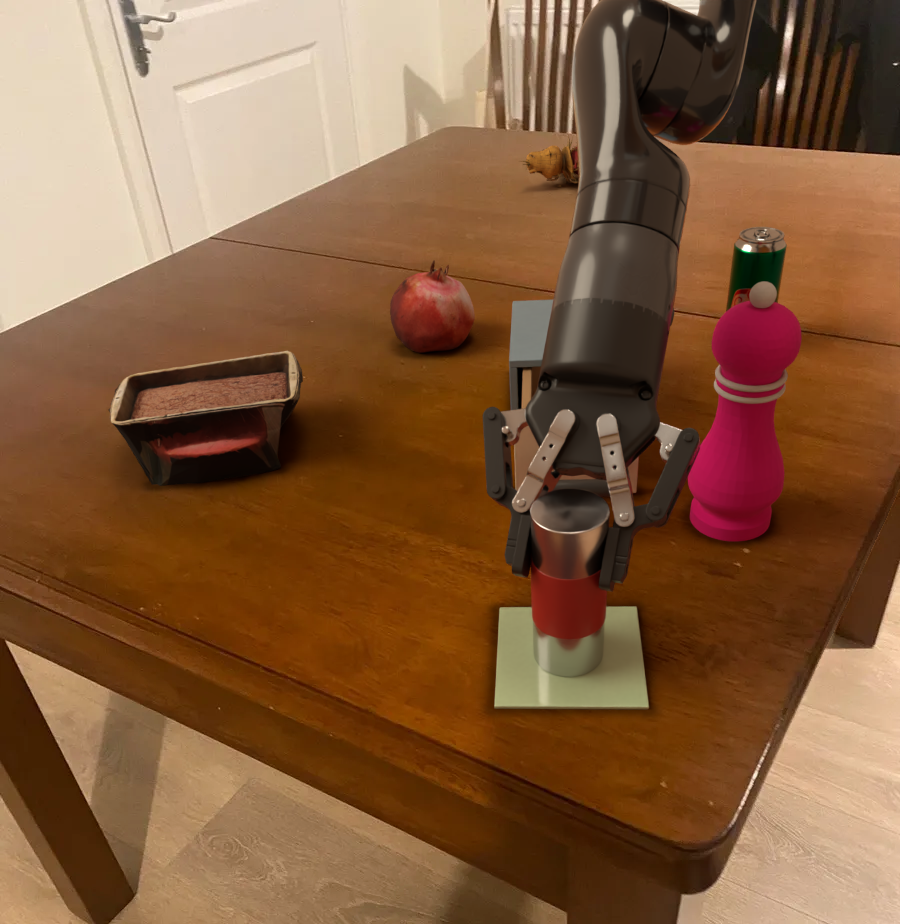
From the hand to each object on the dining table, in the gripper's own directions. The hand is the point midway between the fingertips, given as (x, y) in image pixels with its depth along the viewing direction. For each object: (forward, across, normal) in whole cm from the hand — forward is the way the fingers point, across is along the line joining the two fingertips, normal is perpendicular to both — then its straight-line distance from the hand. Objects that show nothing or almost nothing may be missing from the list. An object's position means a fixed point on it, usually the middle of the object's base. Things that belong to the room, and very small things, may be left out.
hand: (562, 581), depth 57 cm
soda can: (-32, +7, +44) cm, 55 cm away
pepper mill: (-9, +9, +21) cm, 24 cm away
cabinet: (-20, -8, +32) cm, 39 cm away
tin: (+4, 0, +7) cm, 8 cm away
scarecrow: (-71, -24, +83) cm, 112 cm away
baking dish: (-9, -39, +22) cm, 46 cm away
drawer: (-12, -5, +23) cm, 26 cm away
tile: (+5, 0, +7) cm, 9 cm away
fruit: (-28, -27, +40) cm, 56 cm away
